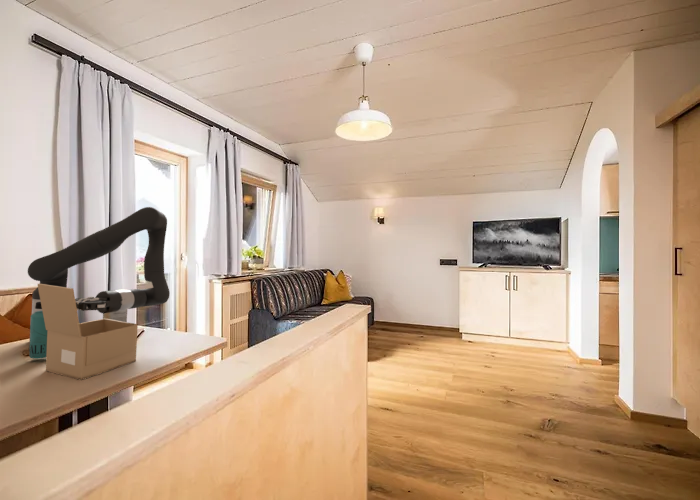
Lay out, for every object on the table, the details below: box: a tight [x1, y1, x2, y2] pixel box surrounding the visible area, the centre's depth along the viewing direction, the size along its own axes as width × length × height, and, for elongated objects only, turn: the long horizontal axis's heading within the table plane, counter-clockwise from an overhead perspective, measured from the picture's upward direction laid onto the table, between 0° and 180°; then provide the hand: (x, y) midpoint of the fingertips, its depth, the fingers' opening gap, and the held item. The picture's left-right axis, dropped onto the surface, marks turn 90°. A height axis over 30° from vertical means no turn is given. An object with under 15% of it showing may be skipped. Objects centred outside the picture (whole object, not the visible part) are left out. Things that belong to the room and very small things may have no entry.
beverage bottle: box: [28, 302, 48, 360], centre depth 115 cm, size 6×7×20 cm
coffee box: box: [102, 309, 128, 322], centre depth 150 cm, size 9×6×16 cm
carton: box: [45, 318, 138, 381], centre depth 113 cm, size 17×18×13 cm
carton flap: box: [37, 283, 81, 337], centre depth 102 cm, size 15×15×1 cm
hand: (60, 307), depth 102 cm, fingers closed
